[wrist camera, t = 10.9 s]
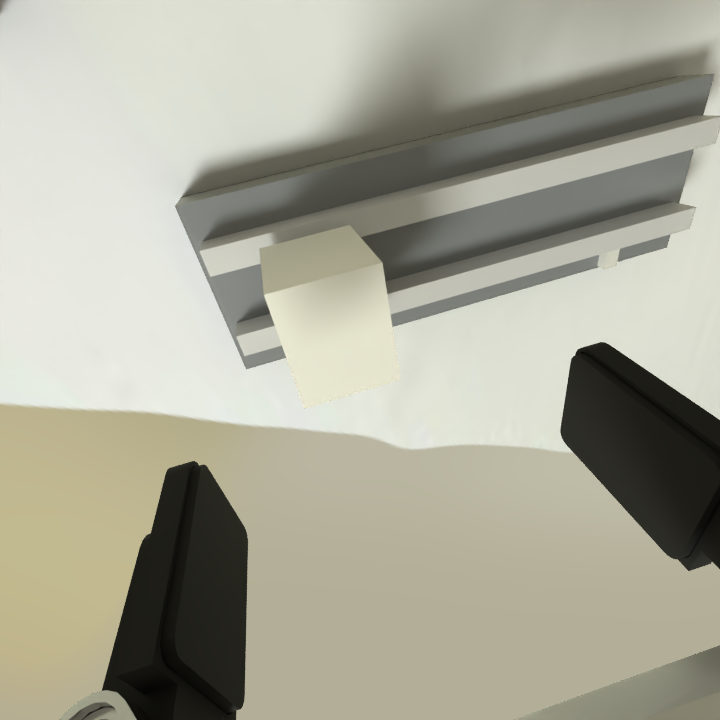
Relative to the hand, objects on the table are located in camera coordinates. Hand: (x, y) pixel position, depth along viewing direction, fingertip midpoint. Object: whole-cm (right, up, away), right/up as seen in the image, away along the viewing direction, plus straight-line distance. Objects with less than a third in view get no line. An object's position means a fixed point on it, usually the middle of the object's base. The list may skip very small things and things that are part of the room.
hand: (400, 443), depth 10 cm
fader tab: (-3, +6, +10) cm, 12 cm away
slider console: (+4, +10, +13) cm, 17 cm away
